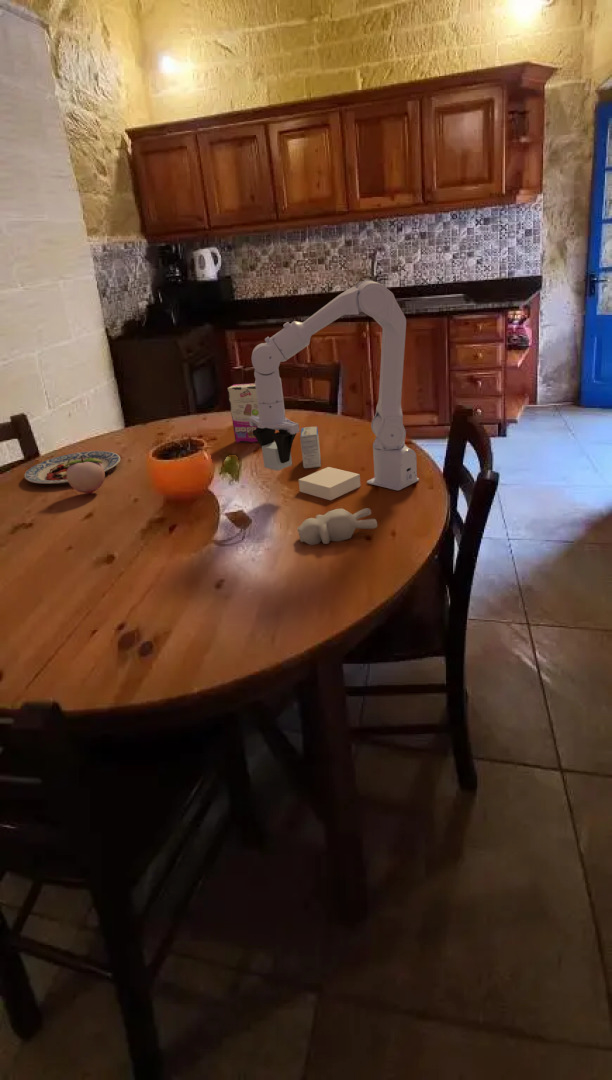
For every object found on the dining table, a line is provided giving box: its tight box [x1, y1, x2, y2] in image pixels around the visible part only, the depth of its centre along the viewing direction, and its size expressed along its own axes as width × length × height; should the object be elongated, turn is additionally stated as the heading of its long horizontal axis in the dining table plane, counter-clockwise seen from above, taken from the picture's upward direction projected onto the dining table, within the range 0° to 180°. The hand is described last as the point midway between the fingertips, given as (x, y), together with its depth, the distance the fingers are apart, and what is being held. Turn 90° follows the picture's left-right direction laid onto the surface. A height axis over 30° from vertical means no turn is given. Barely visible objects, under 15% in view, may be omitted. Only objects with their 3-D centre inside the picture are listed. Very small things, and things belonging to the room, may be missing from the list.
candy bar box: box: [227, 383, 259, 444], centre depth 191 cm, size 11×5×16 cm, turn 73°
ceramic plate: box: [24, 450, 121, 485], centre depth 183 cm, size 26×26×3 cm
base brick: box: [298, 466, 361, 501], centre depth 152 cm, size 10×10×3 cm
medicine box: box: [300, 426, 322, 469], centre depth 169 cm, size 8×4×9 cm, turn 179°
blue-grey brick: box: [261, 441, 293, 471], centre depth 149 cm, size 4×4×5 cm
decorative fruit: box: [64, 456, 106, 495], centre depth 164 cm, size 9×8×10 cm
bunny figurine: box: [296, 507, 378, 546], centre depth 128 cm, size 10×5×15 cm
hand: (277, 460), depth 149 cm, fingers closed on blue-grey brick, 4 cm apart
